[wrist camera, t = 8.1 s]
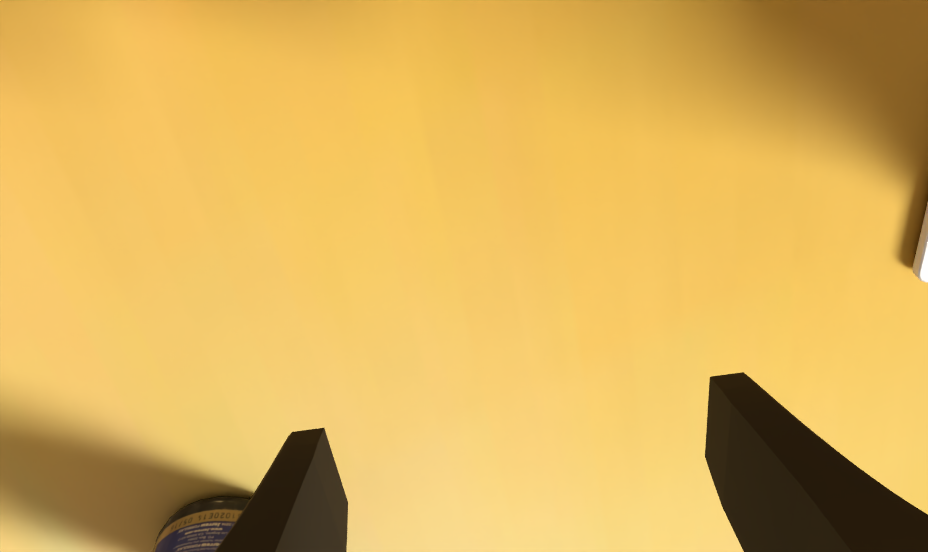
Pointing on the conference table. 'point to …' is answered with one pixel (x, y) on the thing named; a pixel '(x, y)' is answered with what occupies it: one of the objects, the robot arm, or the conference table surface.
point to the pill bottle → (200, 525)
